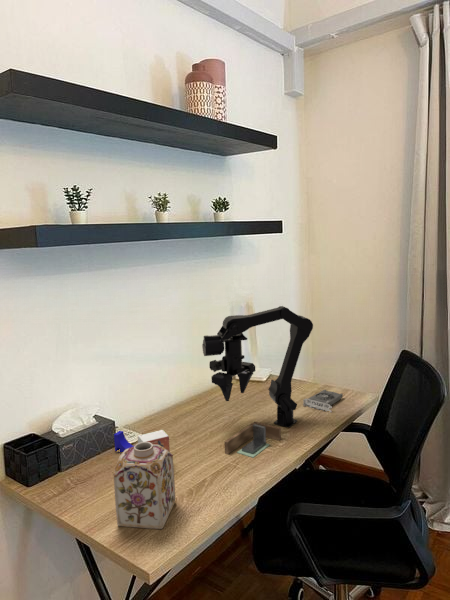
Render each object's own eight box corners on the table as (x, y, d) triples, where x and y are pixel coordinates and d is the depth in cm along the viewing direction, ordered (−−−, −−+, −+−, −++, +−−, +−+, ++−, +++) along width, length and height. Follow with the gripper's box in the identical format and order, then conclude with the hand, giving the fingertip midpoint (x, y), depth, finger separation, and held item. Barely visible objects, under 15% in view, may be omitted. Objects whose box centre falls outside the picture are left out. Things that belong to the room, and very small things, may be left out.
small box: (145, 477, 131) (142, 442, 130) (139, 468, 136) (136, 435, 135) (171, 469, 135) (169, 435, 133) (164, 461, 140) (162, 428, 138)
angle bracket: (255, 441, 150) (254, 424, 149) (265, 444, 148) (265, 426, 147) (241, 451, 144) (241, 433, 143) (252, 454, 142) (252, 436, 141)
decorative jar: (176, 501, 118) (173, 436, 116) (163, 530, 107) (159, 458, 104) (132, 499, 120) (128, 434, 118) (115, 527, 109) (109, 456, 106)
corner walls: (255, 432, 158) (254, 421, 157) (280, 439, 152) (280, 427, 151) (224, 453, 143) (224, 441, 143) (252, 461, 138) (251, 449, 137)
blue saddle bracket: (154, 451, 147) (153, 433, 146) (147, 458, 143) (145, 439, 142) (123, 446, 151) (122, 428, 151) (115, 452, 147) (113, 434, 147)
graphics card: (330, 405, 171) (302, 398, 179) (330, 415, 172) (302, 407, 180) (350, 393, 184) (323, 387, 192) (349, 402, 184) (323, 395, 192)
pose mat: (254, 440, 151) (254, 439, 151) (269, 445, 148) (269, 444, 148) (236, 452, 143) (236, 452, 143) (253, 457, 140) (253, 456, 140)
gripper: (229, 344, 169) (231, 385, 171) (197, 356, 154) (199, 401, 156) (255, 348, 162) (256, 390, 164) (224, 361, 147) (226, 407, 149)
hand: (234, 396), depth 159 cm, fingers open, 9 cm apart
